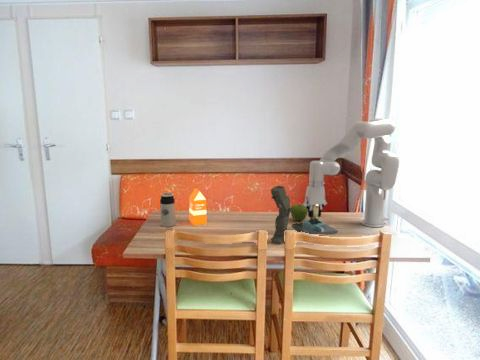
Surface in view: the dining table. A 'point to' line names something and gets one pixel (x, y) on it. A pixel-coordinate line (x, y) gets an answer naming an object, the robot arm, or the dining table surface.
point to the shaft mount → (314, 227)
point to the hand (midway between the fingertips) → (314, 216)
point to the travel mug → (167, 209)
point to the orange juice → (197, 208)
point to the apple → (298, 212)
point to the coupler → (315, 213)
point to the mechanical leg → (280, 213)
